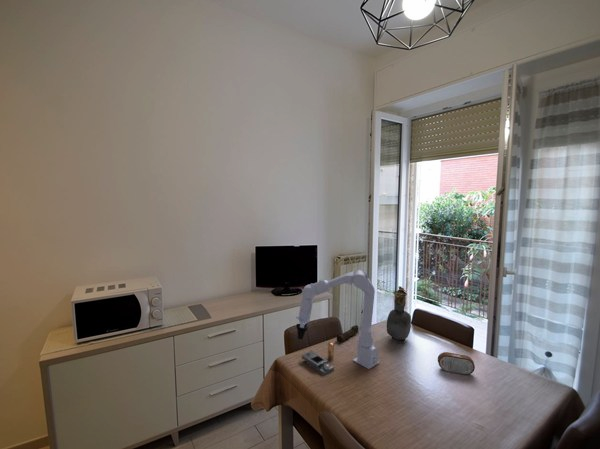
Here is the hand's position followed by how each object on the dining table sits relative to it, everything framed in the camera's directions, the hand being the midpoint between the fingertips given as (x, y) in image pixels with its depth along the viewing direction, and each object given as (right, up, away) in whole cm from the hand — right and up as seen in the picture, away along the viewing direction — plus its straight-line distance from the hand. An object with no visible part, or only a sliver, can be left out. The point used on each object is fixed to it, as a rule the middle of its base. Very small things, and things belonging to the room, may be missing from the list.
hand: (301, 335), depth 148 cm
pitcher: (+55, -9, +20) cm, 59 cm away
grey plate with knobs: (+8, -11, -8) cm, 16 cm away
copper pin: (+14, -11, -2) cm, 18 cm away
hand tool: (+27, -9, +22) cm, 36 cm away
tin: (+70, -13, -12) cm, 73 cm away
